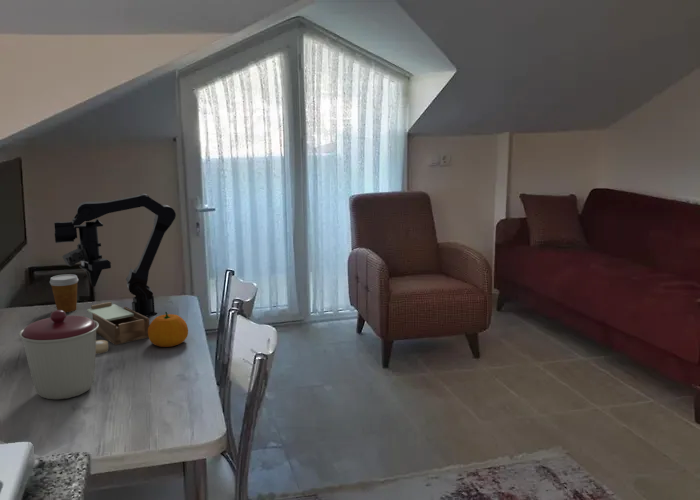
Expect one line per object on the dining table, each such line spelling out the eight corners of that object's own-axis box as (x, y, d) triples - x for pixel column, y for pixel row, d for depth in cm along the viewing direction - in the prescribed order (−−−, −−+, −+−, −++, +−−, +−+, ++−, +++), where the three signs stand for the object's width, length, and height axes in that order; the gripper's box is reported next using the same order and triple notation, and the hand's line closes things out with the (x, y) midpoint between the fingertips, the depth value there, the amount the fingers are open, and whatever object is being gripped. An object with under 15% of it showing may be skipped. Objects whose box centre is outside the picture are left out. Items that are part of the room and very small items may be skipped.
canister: (119, 386, 173) (113, 306, 169) (57, 412, 158) (48, 325, 154) (72, 373, 182) (65, 297, 178) (9, 397, 167) (0, 314, 163)
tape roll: (104, 346, 203) (103, 338, 203) (111, 350, 199) (110, 342, 199) (87, 350, 200) (87, 342, 199) (94, 355, 196) (93, 346, 196)
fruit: (179, 351, 199) (177, 318, 197) (141, 349, 201) (139, 316, 199) (194, 338, 210) (193, 306, 208) (158, 336, 212) (156, 305, 210)
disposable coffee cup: (51, 308, 244) (48, 275, 242) (80, 305, 248) (77, 272, 245) (52, 315, 235) (49, 281, 233) (82, 311, 239) (79, 278, 237)
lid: (114, 306, 228) (114, 300, 227) (133, 315, 216) (133, 310, 216) (87, 311, 222) (86, 306, 221) (105, 321, 210) (105, 316, 210)
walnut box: (127, 324, 224) (125, 306, 223) (150, 337, 211) (148, 318, 210) (93, 331, 217) (92, 313, 216) (115, 345, 204) (114, 325, 203)
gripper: (54, 240, 226) (58, 285, 229) (74, 247, 212) (79, 296, 215) (87, 235, 233) (91, 280, 236) (109, 243, 219) (113, 289, 222)
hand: (93, 286), depth 227 cm, fingers closed
